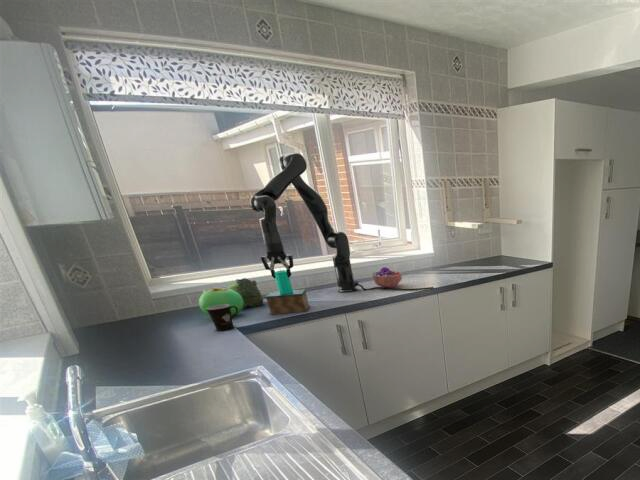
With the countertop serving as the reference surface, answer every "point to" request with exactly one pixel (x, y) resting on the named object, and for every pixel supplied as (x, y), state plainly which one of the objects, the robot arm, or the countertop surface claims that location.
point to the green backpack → (249, 292)
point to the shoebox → (287, 302)
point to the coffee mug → (222, 316)
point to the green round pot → (221, 299)
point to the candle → (283, 282)
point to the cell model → (387, 278)
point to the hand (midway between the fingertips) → (282, 277)
